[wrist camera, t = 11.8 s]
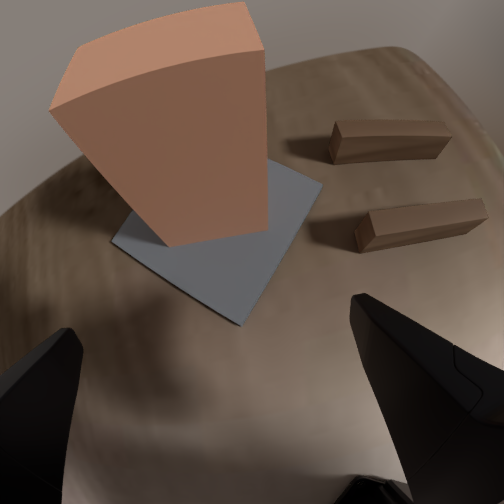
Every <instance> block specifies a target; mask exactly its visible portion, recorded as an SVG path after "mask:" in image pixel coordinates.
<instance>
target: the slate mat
mask: <svg viewBox="0 0 504 504" xmlns="http://www.w3.org/2000/svg"><path fill="white" fill-rule="evenodd" d="M267 170H268V230H267V231H261V232H255V233H249V234H243V235H237V236H231V237H225V238H219V239H214V240H208V241H202V242H196V243H191V244H185V245H180V246H174V247H168V246H167V245H166V244H165V242H164V241H163V240H162V239H161V238H160V237H159V236H158V235H157V234H156V233H155V232H154V231H153V230H152V229H151V228H150V227H149V226H148V225H147V224H146V223H145V222H144V220H143V219H142V218H141V217H140V216H139V215H138V214H137V213H136V212H135V211H134V210H132V212H131V213H130V214H129V216H128V217H127V219H126V220H125V222H124V223H123V225H122V226H121V228H120V229H119V231H118V232H117V234H116V235H115V237H114V238H113V240H112V242H113V243H114V244H116V245H117V246H119V247H120V248H121V249H123V250H124V251H126V252H127V253H128V254H130V255H131V256H133V257H134V258H136V259H137V260H139V261H140V262H141V263H143V264H144V265H146V266H147V267H149V268H150V269H152V270H153V271H155V272H156V273H158V274H159V275H161V276H162V277H164V278H165V279H167V280H168V281H170V282H171V283H173V284H174V285H176V286H177V287H179V288H180V289H182V290H183V291H185V292H187V293H188V294H190V295H191V296H193V297H194V298H196V299H198V300H199V301H201V302H202V303H204V304H205V305H207V306H209V307H210V308H212V309H214V310H215V311H217V312H218V313H220V314H222V315H223V316H225V317H227V318H228V319H230V320H232V321H233V322H235V323H237V324H238V325H240V326H243V324H244V322H245V321H246V319H247V317H248V316H249V314H250V312H251V311H252V309H253V307H254V306H255V304H256V302H257V301H258V299H259V297H260V296H261V294H262V292H263V291H264V289H265V287H266V286H267V284H268V282H269V280H270V279H271V277H272V275H273V274H274V272H275V270H276V268H277V267H278V265H279V263H280V262H281V260H282V258H283V256H284V255H285V253H286V251H287V249H288V248H289V246H290V244H291V243H292V241H293V239H294V237H295V236H296V234H297V232H298V230H299V228H300V227H301V225H302V223H303V221H304V220H305V218H306V216H307V214H308V213H309V211H310V209H311V207H312V205H313V204H314V202H315V200H316V198H317V196H318V195H319V193H320V191H321V189H322V187H323V184H321V183H319V182H317V181H315V180H313V179H311V178H309V177H307V176H304V175H302V174H300V173H298V172H296V171H294V170H292V169H290V168H288V167H285V166H283V165H281V164H279V163H277V162H274V161H272V160H270V159H268V158H267Z"/></svg>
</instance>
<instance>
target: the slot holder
mask: <svg viewBox="0 0 504 504" xmlns="http://www.w3.org/2000/svg"><path fill="white" fill-rule="evenodd" d="M451 138H452V135H451V133H450V132H449V130H448V128H447V126H446V125H445V123H444V122H437V121H419V120H344V121H335V124H334V128H333V132H332V136H331V140H330V144H329V147H328V150H329V153H330V156H331V159H332V161H333V164H334V165H337V164H348V163H360V162H374V161H391V160H413V159H436V158H437V157H438V155H439V154H440V153H441V151H442V150H443V149H444V147H445V146H446V145H447V143H448V142H449V141H450V139H451ZM488 218H489V217H488V214H487V211H486V209H485V206H484V203H483V201H482V198H479V199H469V200H460V201H451V202H442V203H433V204H424V205H416V206H408V207H400V208H392V209H384V210H376V211H369V212H368V213H367V214H366V216H365V217H364V219H363V220H362V222H361V223H360V224H359V226H358V227H357V229H356V230H355V232H354V234H355V237H356V241H357V245H358V249H359V253H366V252H372V251H377V250H383V249H388V248H394V247H400V246H405V245H410V244H416V243H421V242H427V241H432V240H437V239H442V238H448V237H453V236H458V235H463V234H466V233H468V232H469V231H471V230H472V229H474V228H475V227H477V226H478V225H479V224H481V223H482V222H484V221H485V220H486V219H488Z"/></svg>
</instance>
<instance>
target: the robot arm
mask: <svg viewBox="0 0 504 504" xmlns="http://www.w3.org/2000/svg"><path fill="white" fill-rule="evenodd" d="M350 324H351V328H352V331H353V334H354V338H355V341H356V344H357V348H358V351H359V355H360V358H361V361H362V365H363V367H364V370H365V373H366V375H367V377H368V380H369V382H370V385H371V387H372V389H373V392H374V394H375V397H376V399H377V402H378V404H379V407H380V409H381V412H382V414H383V417H384V420H385V422H386V425H387V427H388V430H389V433H390V435H391V438H392V441H393V443H394V446H395V449H396V451H397V454H398V457H399V460H400V463H401V465H402V468H403V471H404V474H405V477H406V480H407V483H408V484H406V483H402V482H399V481H395V480H388V481H386V482H382V481H379V480H376V479H373V478H369V477H366V476H358V477H356V478H355V479H354V480H353V481H352V482H351V483H350V485H349V486H348V487H347V489H346V490H345V491H344V492H343V494H342V495H341V496H340V497H339V498H338V500H337V501H336V502H335V503H334V504H504V371H503V370H501V369H499V368H497V367H495V366H493V365H491V364H489V363H487V362H485V361H483V360H481V359H479V358H477V357H475V356H473V355H472V354H470V353H468V352H466V351H465V350H463V349H461V348H460V347H458V346H456V345H453V344H452V343H451V342H449V341H448V340H446V339H444V338H442V337H441V336H439V335H437V334H436V333H434V332H432V331H431V330H429V329H427V328H425V327H424V326H422V325H420V324H419V323H417V322H415V321H413V320H412V319H410V318H408V317H406V316H405V315H403V314H401V313H399V312H398V311H396V310H394V309H392V308H391V307H389V306H387V305H385V304H384V303H382V302H380V301H378V300H377V299H375V298H373V297H371V296H370V295H368V294H366V293H362V294H356V295H353V296H352V298H351V306H350ZM82 358H83V346H82V344H81V342H80V341H79V339H78V337H77V335H76V334H75V332H74V330H73V329H72V328H61V329H59V330H58V331H57V332H55V333H54V334H53V335H51V336H50V337H49V338H47V339H46V340H45V341H44V342H42V343H41V344H40V345H38V346H37V347H36V348H34V349H33V350H32V351H31V352H29V353H28V354H27V355H25V356H24V357H23V358H22V359H20V360H19V361H18V362H17V363H15V364H14V365H13V366H12V367H10V368H9V369H8V370H7V371H5V372H4V373H3V374H2V375H0V504H62V486H63V475H64V466H65V458H66V451H67V444H68V437H69V431H70V426H71V420H72V415H73V410H74V405H75V400H76V396H77V391H78V385H79V377H80V370H81V364H82ZM361 481H364V482H363V483H362V484H361V485H358V483H359V482H361Z"/></svg>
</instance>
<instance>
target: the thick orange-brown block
mask: <svg viewBox="0 0 504 504" xmlns="http://www.w3.org/2000/svg"><path fill="white" fill-rule="evenodd" d="M49 112H50V113H51V115H52V116H53V117H54V118H55V120H56V121H57V122H58V123H59V125H60V126H61V127H62V128H63V130H64V131H65V132H66V133H67V134H68V135H69V137H70V138H71V139H72V140H73V142H74V143H75V144H76V145H77V146H78V147H79V149H80V150H81V151H82V152H83V153H84V155H85V156H86V157H87V158H88V159H89V161H90V162H91V163H92V164H93V165H94V166H95V167H96V169H97V170H98V171H99V172H100V173H101V174H102V175H103V177H104V178H105V179H106V180H107V181H108V182H109V183H110V184H111V186H112V187H113V188H114V189H115V190H116V191H117V192H118V193H119V194H120V196H121V197H122V198H123V199H124V200H125V201H126V202H127V203H128V204H129V205H130V207H131V208H132V209H133V210H134V211H135V212H136V213H137V214H138V215H139V216H140V217H141V218H142V219H143V220H144V222H145V223H146V224H147V225H148V226H149V227H150V228H151V229H152V230H153V231H154V232H155V233H156V234H157V235H158V236H159V237H160V238H161V239H162V240H163V241H164V242H165V244H166V245H167V246H168V247H174V246H180V245H185V244H191V243H196V242H202V241H208V240H214V239H219V238H225V237H231V236H237V235H243V234H249V233H255V232H261V231H267V230H268V170H267V119H266V82H265V53H264V47H263V45H262V42H261V40H260V38H259V35H258V33H257V30H256V28H255V26H254V23H253V21H252V19H251V16H250V14H249V12H248V10H247V7H246V5H245V3H244V2H237V3H228V4H222V5H215V6H210V7H203V8H198V9H193V10H188V11H184V12H179V13H175V14H171V15H167V16H163V17H160V18H156V19H152V20H149V21H146V22H142V23H139V24H136V25H133V26H130V27H127V28H124V29H122V30H119V31H116V32H113V33H111V34H108V35H106V36H103V37H101V38H98V39H96V40H93V41H91V42H89V43H86V44H84V45H82V46H80V47H78V48H77V50H76V52H75V54H74V56H73V58H72V60H71V62H70V63H69V65H68V68H67V70H66V72H65V74H64V76H63V78H62V80H61V82H60V85H59V87H58V89H57V91H56V94H55V96H54V98H53V101H52V103H51V106H50V109H49Z"/></svg>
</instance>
